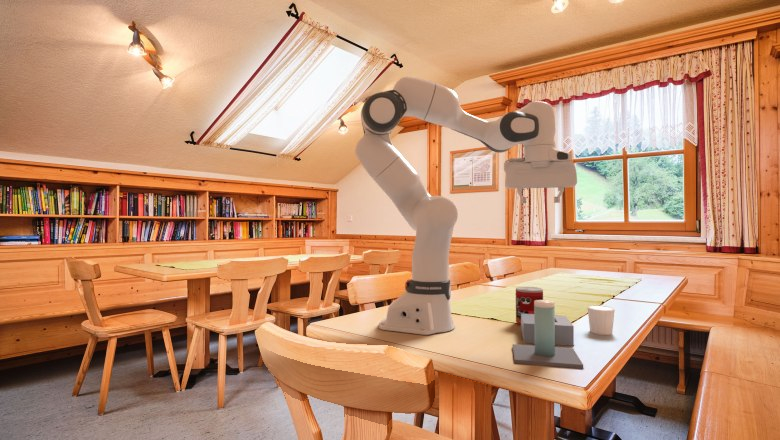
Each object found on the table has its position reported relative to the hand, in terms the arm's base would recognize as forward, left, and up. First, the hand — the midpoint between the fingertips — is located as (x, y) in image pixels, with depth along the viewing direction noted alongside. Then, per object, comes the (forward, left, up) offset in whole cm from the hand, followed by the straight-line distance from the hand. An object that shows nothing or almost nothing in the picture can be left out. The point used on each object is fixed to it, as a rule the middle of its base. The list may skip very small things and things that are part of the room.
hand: (540, 203), depth 123 cm
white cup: (+16, -2, -37) cm, 41 cm away
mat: (-2, -29, -37) cm, 47 cm away
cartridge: (-2, -29, -36) cm, 46 cm away
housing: (0, -12, -37) cm, 39 cm away
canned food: (-3, +3, -37) cm, 38 cm away
